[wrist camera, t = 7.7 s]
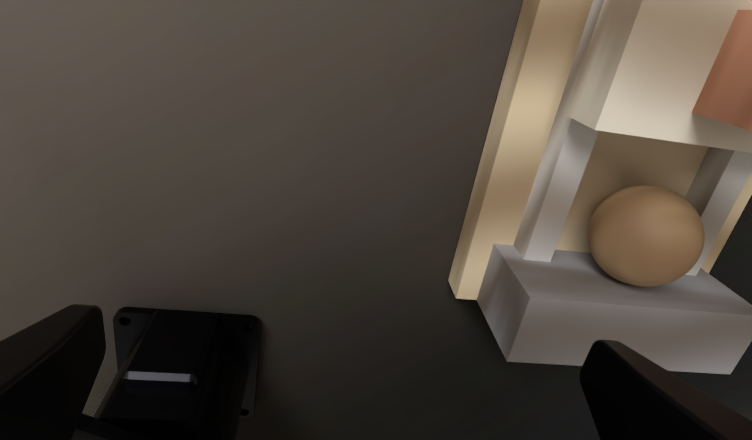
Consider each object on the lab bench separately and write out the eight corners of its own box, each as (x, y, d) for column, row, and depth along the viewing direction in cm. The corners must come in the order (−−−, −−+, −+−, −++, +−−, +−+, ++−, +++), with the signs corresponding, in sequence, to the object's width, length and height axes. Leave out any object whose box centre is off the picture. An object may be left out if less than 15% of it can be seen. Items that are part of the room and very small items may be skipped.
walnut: (637, 257, 21) (700, 311, 18) (557, 249, 21) (605, 303, 17) (675, 176, 20) (753, 217, 16) (588, 164, 19) (650, 205, 15)
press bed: (665, 298, 25) (750, 375, 20) (448, 280, 23) (482, 360, 18) (948, -251, 15) (1242, -365, 10) (620, -360, 13) (791, -563, 8)
